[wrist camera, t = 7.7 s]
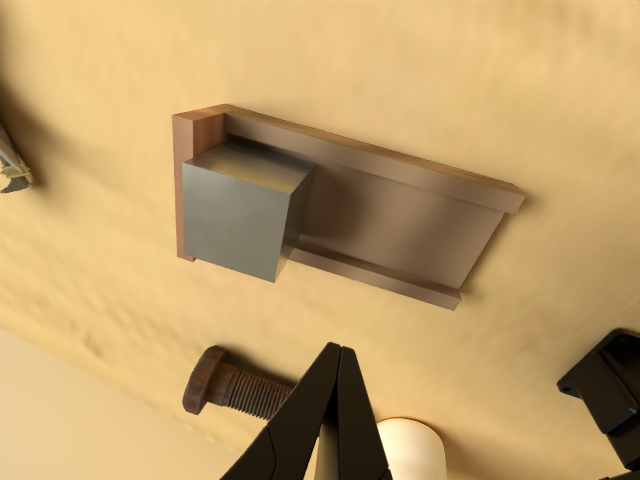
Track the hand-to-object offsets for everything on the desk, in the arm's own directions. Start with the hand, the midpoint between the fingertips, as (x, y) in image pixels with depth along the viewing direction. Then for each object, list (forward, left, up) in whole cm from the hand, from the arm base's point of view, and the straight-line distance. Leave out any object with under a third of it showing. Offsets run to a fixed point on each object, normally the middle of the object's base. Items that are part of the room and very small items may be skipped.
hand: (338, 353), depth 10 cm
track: (+1, 0, -11) cm, 11 cm away
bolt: (+3, +20, -12) cm, 24 cm away
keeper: (+6, 0, -10) cm, 12 cm away
